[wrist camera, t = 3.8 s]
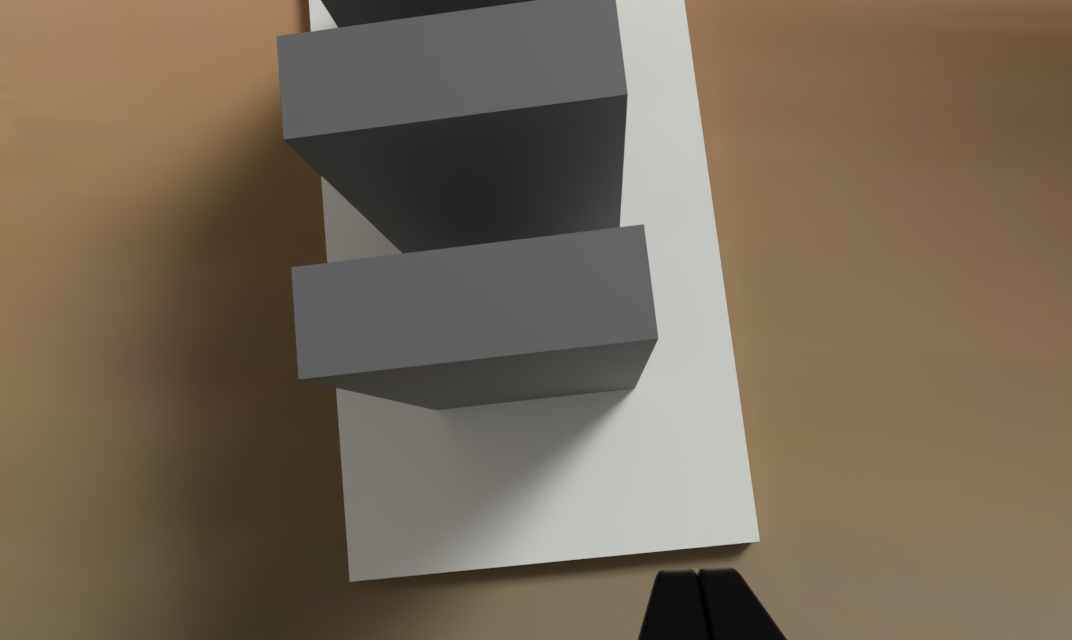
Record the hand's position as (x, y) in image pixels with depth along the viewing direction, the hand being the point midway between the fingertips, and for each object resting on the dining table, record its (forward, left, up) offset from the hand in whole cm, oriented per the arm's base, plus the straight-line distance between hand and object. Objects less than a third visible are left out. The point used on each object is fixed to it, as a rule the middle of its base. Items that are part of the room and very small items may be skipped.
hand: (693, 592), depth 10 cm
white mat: (0, +9, -13) cm, 16 cm away
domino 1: (0, +8, -12) cm, 14 cm away
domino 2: (-1, +4, -12) cm, 13 cm away
